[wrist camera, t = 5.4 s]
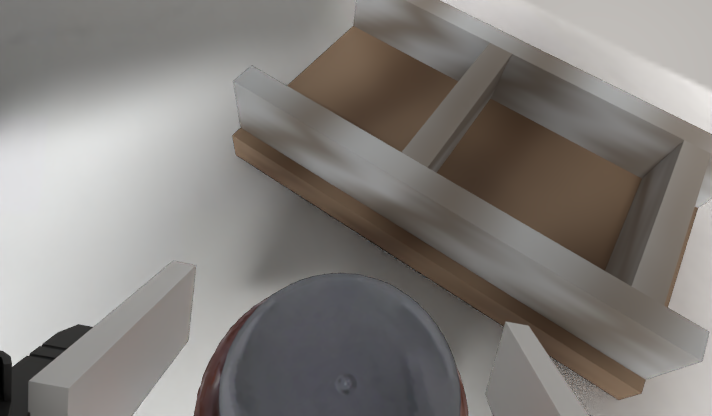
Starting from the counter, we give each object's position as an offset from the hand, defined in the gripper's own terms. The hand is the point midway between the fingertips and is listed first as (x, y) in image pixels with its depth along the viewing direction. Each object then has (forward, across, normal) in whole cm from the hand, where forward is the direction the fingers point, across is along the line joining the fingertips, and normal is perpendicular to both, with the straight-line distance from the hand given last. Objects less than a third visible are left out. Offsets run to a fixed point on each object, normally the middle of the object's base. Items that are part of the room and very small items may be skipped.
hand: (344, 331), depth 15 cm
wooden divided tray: (+10, +5, +4) cm, 12 cm away
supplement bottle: (+1, 0, -5) cm, 5 cm away
